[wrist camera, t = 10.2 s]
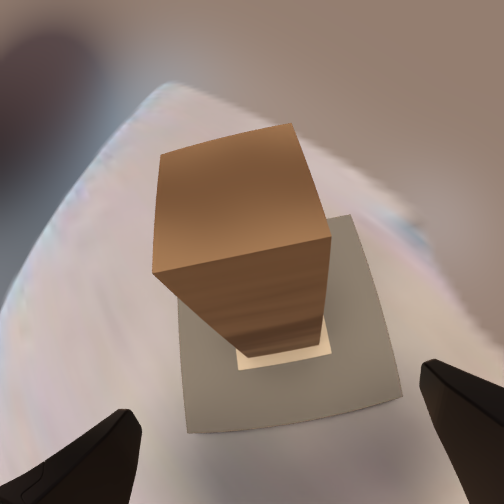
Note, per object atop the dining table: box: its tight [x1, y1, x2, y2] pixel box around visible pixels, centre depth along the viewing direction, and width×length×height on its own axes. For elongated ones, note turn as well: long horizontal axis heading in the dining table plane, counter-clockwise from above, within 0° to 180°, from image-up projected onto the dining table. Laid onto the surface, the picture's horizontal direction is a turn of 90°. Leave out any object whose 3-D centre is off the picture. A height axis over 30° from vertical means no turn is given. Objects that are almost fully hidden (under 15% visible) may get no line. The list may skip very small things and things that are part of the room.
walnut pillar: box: [152, 123, 332, 358], centre depth 14 cm, size 5×5×13 cm
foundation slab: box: [178, 215, 403, 433], centre depth 21 cm, size 14×14×2 cm
